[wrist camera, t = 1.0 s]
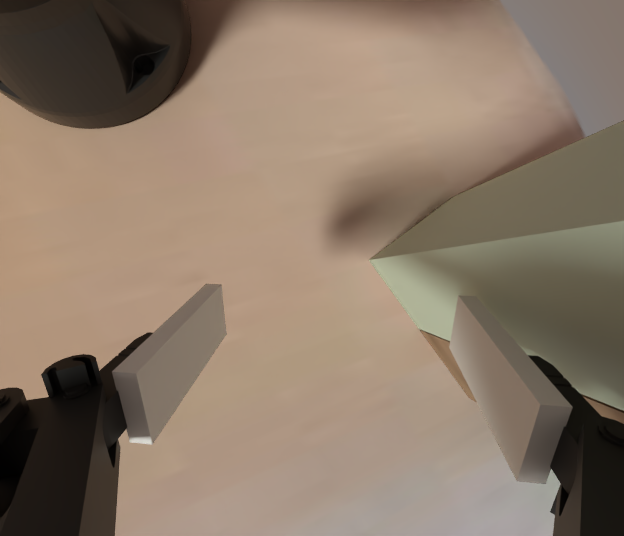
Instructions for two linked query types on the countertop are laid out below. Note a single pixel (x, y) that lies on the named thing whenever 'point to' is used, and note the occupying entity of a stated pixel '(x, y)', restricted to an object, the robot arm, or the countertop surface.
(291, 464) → the countertop surface
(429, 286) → the sage dock
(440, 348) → the block
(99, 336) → the countertop surface
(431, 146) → the countertop surface
